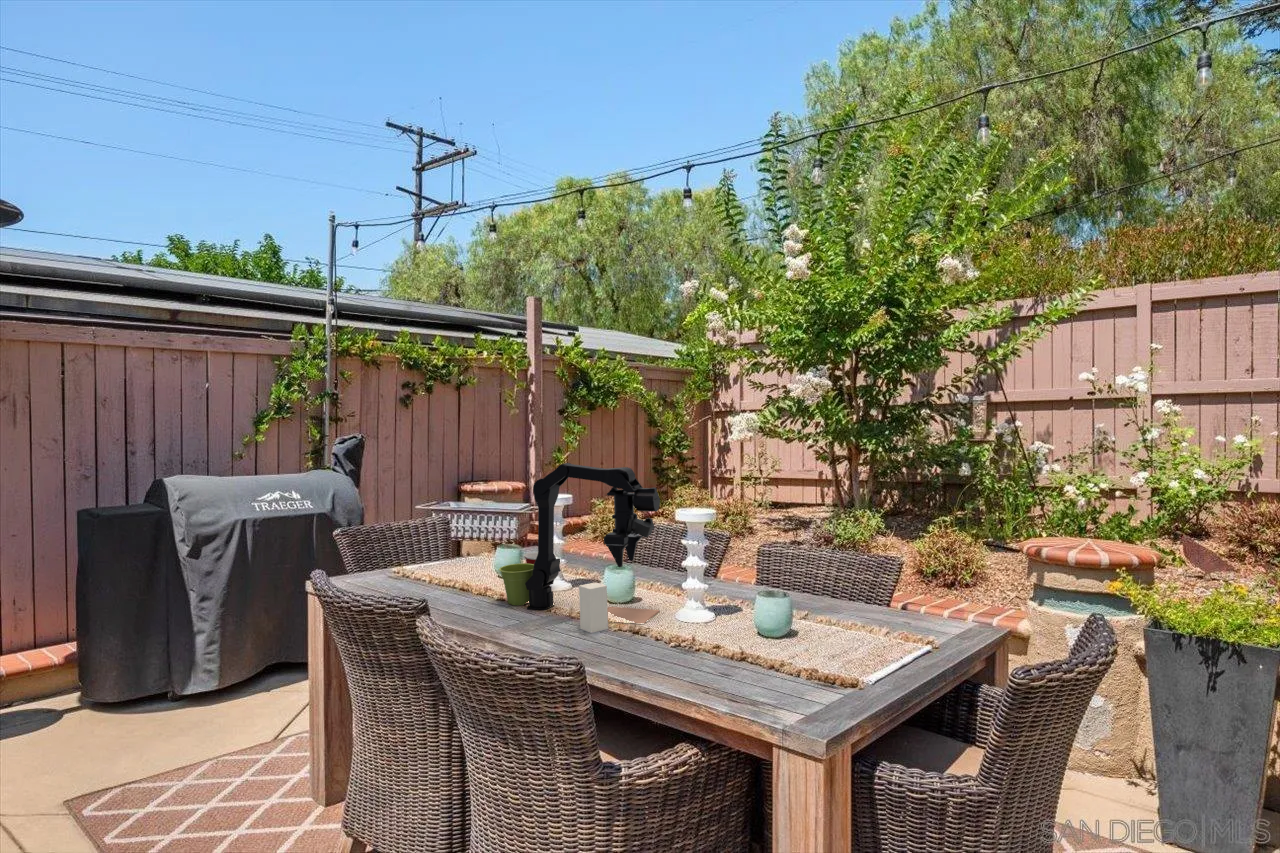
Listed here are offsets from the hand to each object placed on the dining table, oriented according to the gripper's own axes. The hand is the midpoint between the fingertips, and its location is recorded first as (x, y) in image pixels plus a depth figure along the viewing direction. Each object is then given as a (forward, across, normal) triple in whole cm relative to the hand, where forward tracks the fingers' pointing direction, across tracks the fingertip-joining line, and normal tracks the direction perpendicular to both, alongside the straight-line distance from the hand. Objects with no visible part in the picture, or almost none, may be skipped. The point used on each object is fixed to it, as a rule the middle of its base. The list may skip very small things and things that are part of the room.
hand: (625, 563), depth 232 cm
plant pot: (+15, +3, +37) cm, 40 cm away
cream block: (+15, -17, +3) cm, 23 cm away
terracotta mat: (+15, -3, -1) cm, 15 cm away
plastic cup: (+15, +20, +38) cm, 46 cm away
